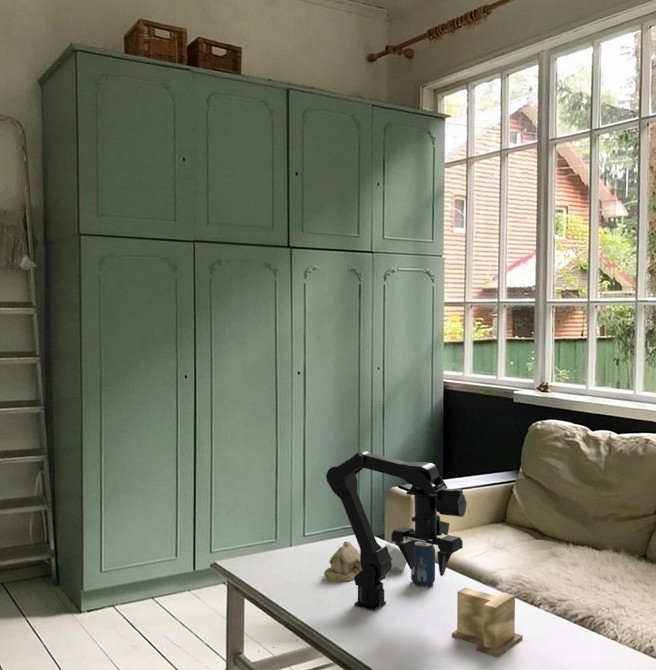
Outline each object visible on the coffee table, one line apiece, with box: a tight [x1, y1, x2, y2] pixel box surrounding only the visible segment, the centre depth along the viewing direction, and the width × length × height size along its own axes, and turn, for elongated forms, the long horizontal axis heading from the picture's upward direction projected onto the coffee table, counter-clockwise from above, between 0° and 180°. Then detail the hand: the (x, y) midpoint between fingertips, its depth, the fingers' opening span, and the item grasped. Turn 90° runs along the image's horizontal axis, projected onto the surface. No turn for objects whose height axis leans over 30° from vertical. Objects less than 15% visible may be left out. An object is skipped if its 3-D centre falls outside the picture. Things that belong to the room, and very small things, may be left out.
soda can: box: [410, 541, 436, 588], centre depth 225 cm, size 7×7×12 cm
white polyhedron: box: [384, 543, 408, 572], centre depth 237 cm, size 8×9×10 cm
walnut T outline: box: [451, 629, 524, 658], centre depth 187 cm, size 14×13×1 cm
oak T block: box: [456, 587, 516, 650], centre depth 187 cm, size 12×10×10 cm
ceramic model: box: [323, 541, 362, 582], centre depth 233 cm, size 14×11×10 cm
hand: (426, 572), depth 200 cm, fingers open, 9 cm apart
